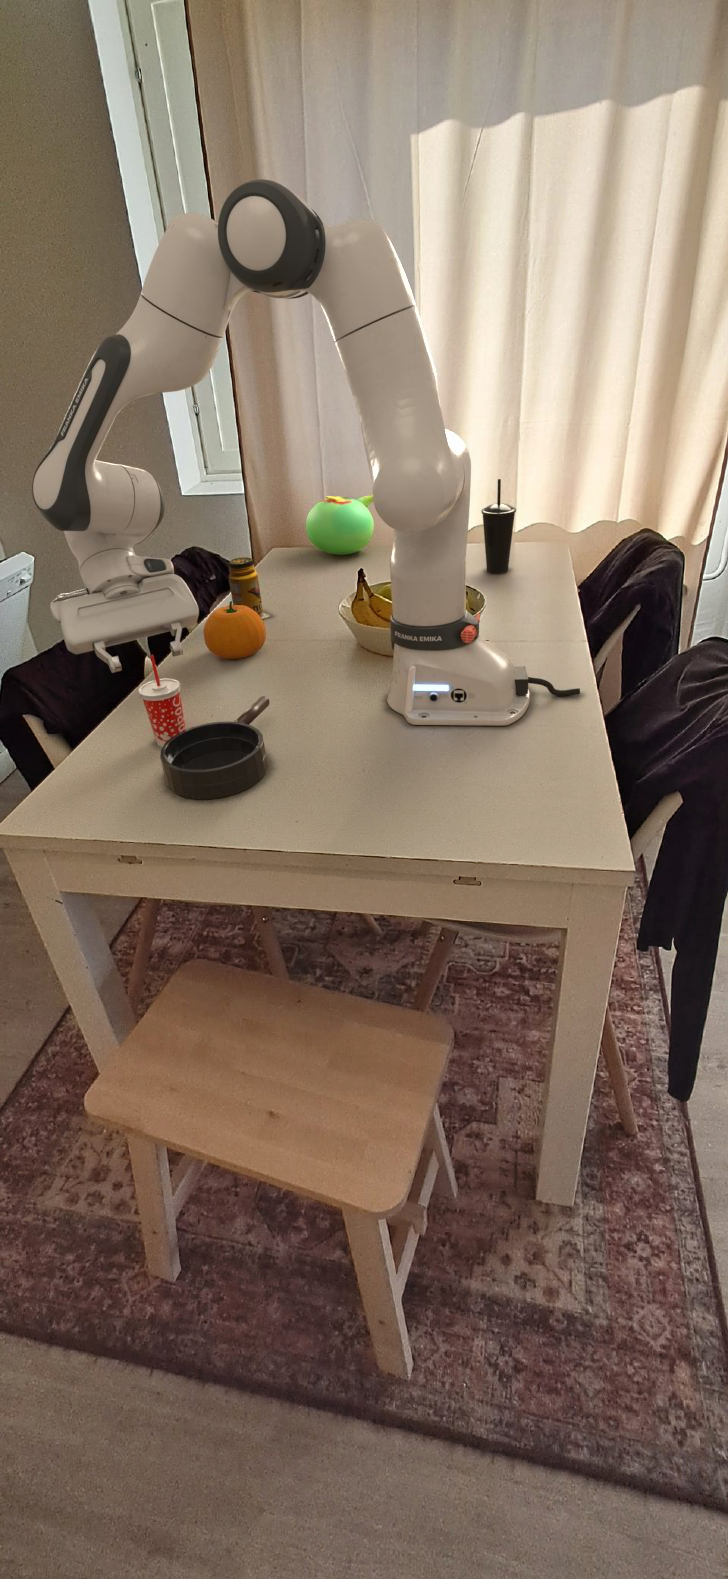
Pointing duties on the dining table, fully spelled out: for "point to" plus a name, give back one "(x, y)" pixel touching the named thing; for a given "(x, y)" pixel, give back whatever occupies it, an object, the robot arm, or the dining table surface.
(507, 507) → the drinking cup
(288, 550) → the dining table surface
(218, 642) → the fruit
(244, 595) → the condiment
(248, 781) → the skillet
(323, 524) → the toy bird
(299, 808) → the dining table surface
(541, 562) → the dining table surface
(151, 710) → the beverage cup
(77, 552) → the robot arm
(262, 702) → the skillet handle
